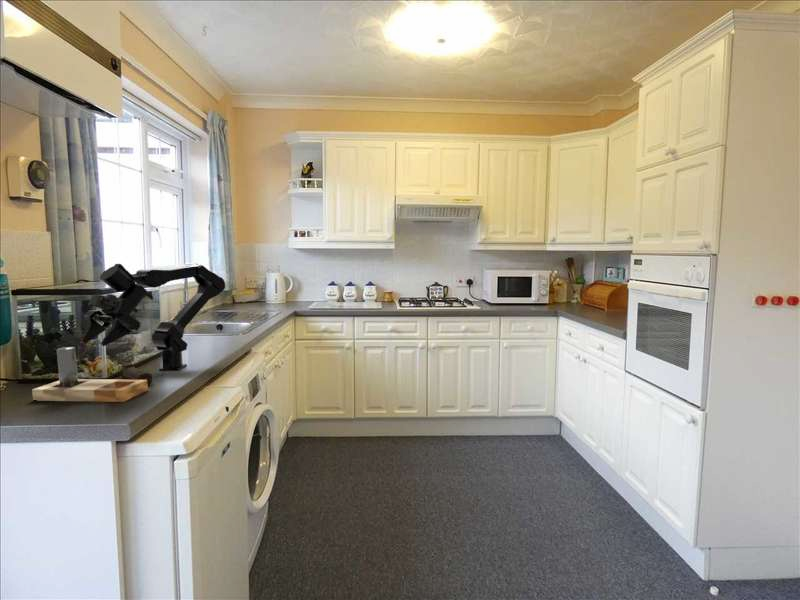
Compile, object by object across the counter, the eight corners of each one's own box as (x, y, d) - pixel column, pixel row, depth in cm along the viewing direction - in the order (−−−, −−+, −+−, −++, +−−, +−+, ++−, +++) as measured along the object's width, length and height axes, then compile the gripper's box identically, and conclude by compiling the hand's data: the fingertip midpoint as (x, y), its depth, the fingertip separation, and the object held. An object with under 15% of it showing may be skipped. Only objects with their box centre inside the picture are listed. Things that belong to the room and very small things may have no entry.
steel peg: (69, 392, 122) (65, 346, 120) (82, 392, 122) (78, 347, 120) (57, 397, 118) (52, 350, 117) (71, 397, 118) (66, 350, 116)
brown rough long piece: (153, 384, 129) (152, 369, 129) (138, 387, 126) (137, 372, 126) (133, 373, 142) (133, 359, 142) (119, 376, 139) (118, 361, 139)
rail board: (64, 389, 125) (63, 378, 125) (147, 390, 123) (147, 379, 123) (33, 400, 115) (32, 389, 115) (123, 401, 114) (122, 390, 113)
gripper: (89, 283, 132) (50, 325, 123) (127, 285, 123) (88, 329, 115) (117, 306, 139) (82, 347, 131) (155, 309, 131) (120, 352, 123)
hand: (92, 343), depth 124 cm, fingers open, 9 cm apart
